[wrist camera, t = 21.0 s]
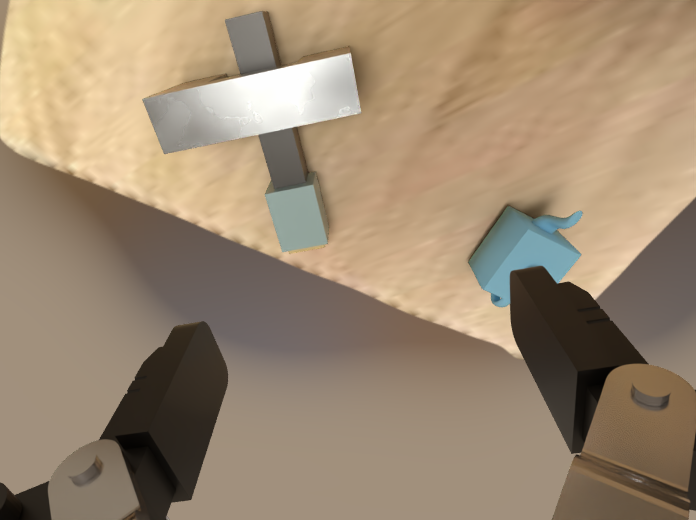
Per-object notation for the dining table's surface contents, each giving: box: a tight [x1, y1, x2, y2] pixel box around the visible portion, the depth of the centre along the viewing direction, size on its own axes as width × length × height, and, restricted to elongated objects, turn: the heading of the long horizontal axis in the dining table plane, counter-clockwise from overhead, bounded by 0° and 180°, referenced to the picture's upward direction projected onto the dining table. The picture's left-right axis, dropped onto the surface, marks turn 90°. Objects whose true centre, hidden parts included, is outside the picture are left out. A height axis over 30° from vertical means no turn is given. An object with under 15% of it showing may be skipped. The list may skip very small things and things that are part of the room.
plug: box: [225, 11, 329, 254], centre depth 40 cm, size 21×4×4 cm, turn 11°
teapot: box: [468, 206, 582, 307], centre depth 43 cm, size 12×6×8 cm, turn 154°
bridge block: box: [142, 46, 361, 154], centre depth 36 cm, size 15×4×9 cm, turn 101°
